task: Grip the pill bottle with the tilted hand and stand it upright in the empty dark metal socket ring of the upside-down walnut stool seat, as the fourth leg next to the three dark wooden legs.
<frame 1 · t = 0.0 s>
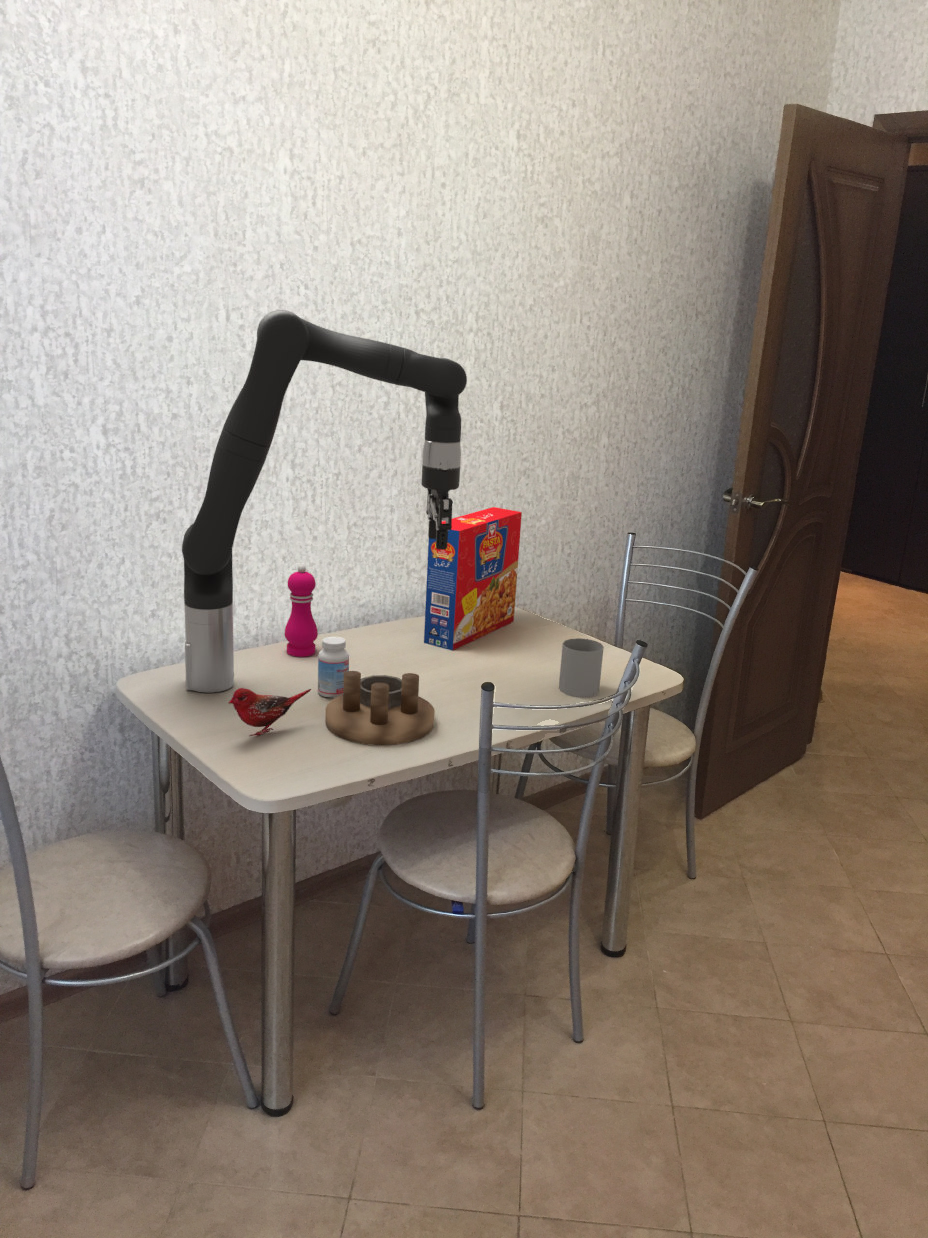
hand: (437, 543, 205), 29 cm above the table, tool pointing down, fingers open, 8 cm apart
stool: (380, 722, 192), on the table
pasta box: (470, 632, 245), on the table
pill bottle: (333, 693, 204), on the table
pepper mill: (301, 653, 225), on the table
decorative bird figurine: (271, 732, 185), on the table
cup: (578, 690, 213), on the table
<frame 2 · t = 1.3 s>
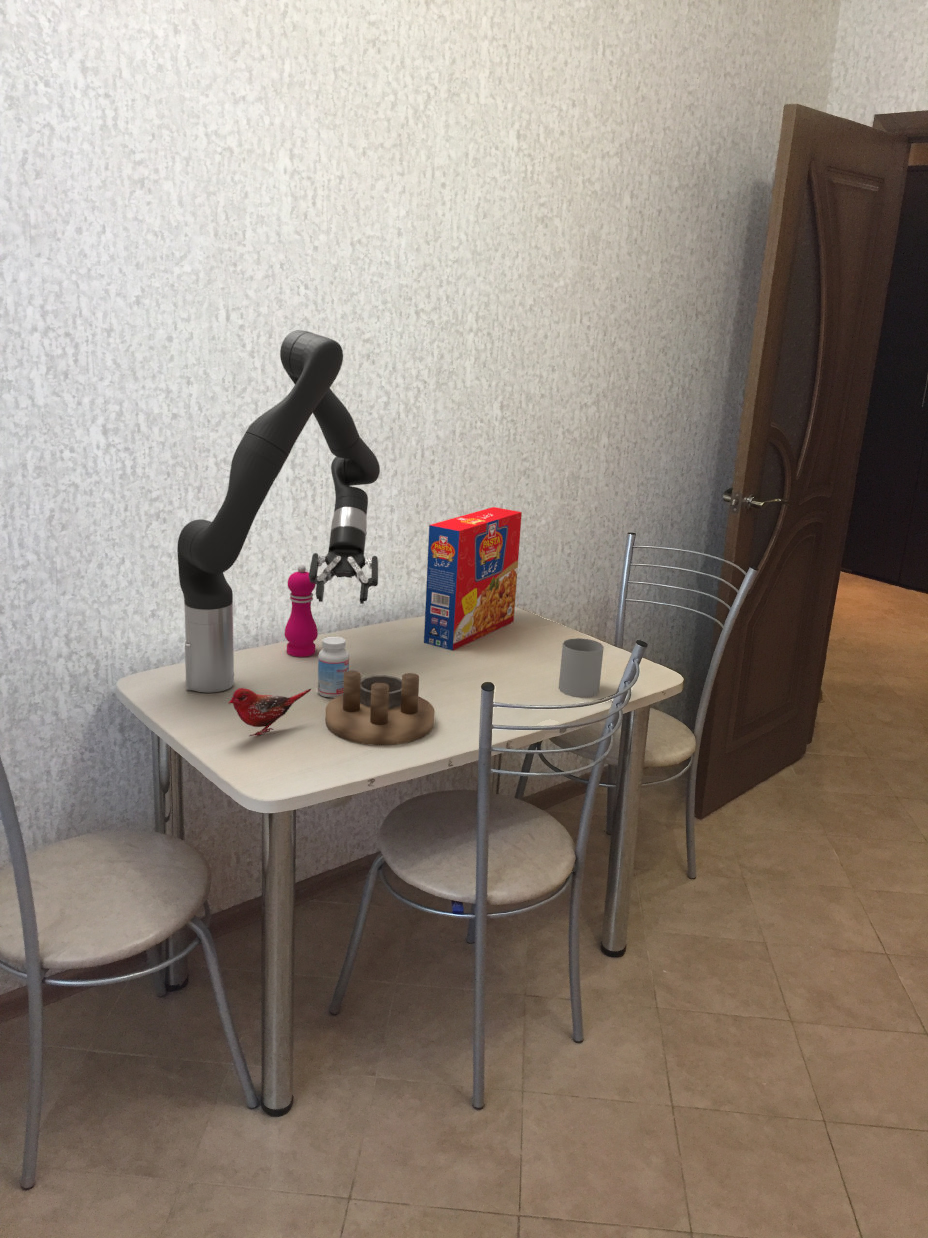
hand: (341, 601, 210), 16 cm above the table, tool tilted 45°, fingers open, 8 cm apart
nothing on the table moved.
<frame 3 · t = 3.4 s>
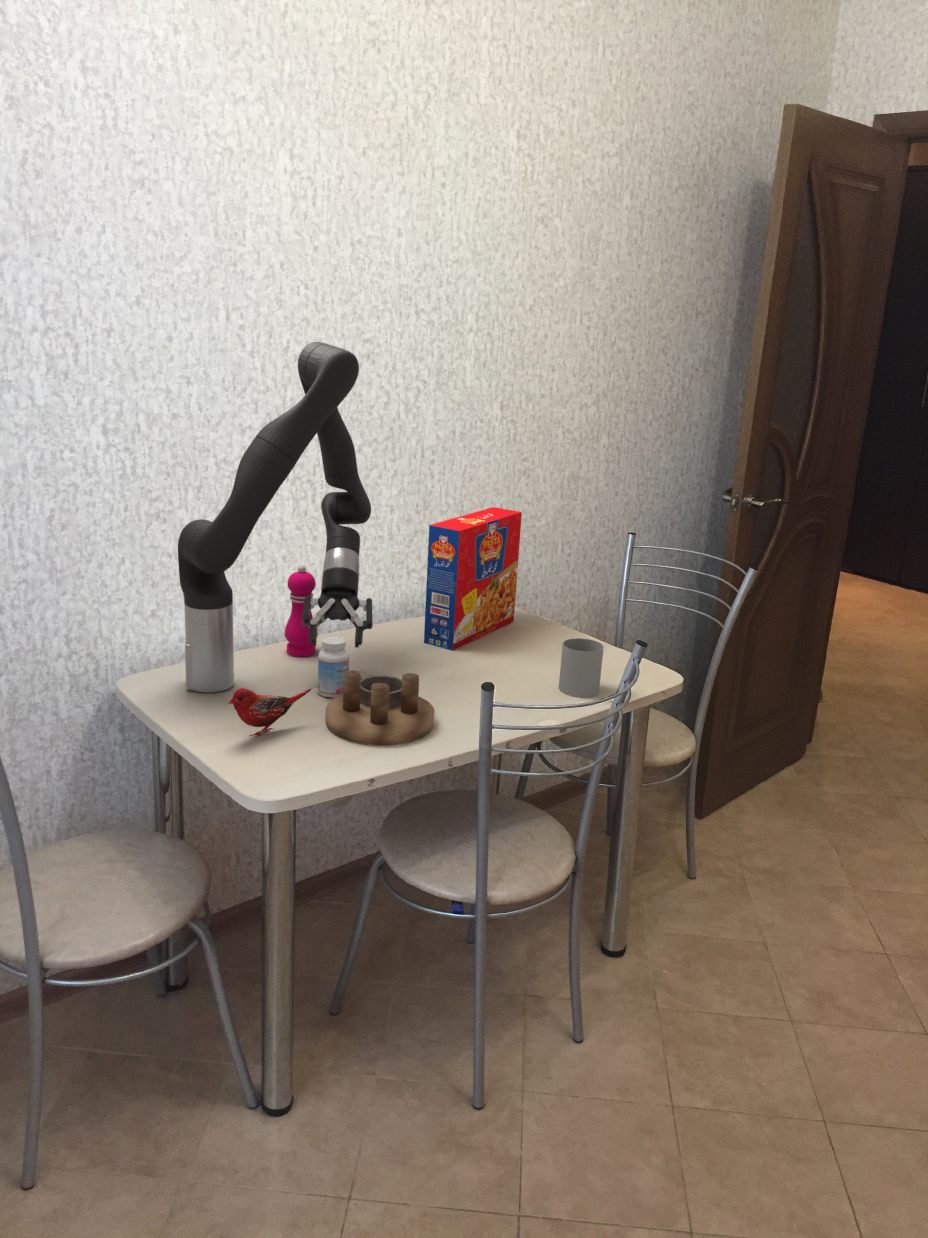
hand: (335, 645, 204), 9 cm above the table, tool tilted 45°, fingers open, 8 cm apart
nothing on the table moved.
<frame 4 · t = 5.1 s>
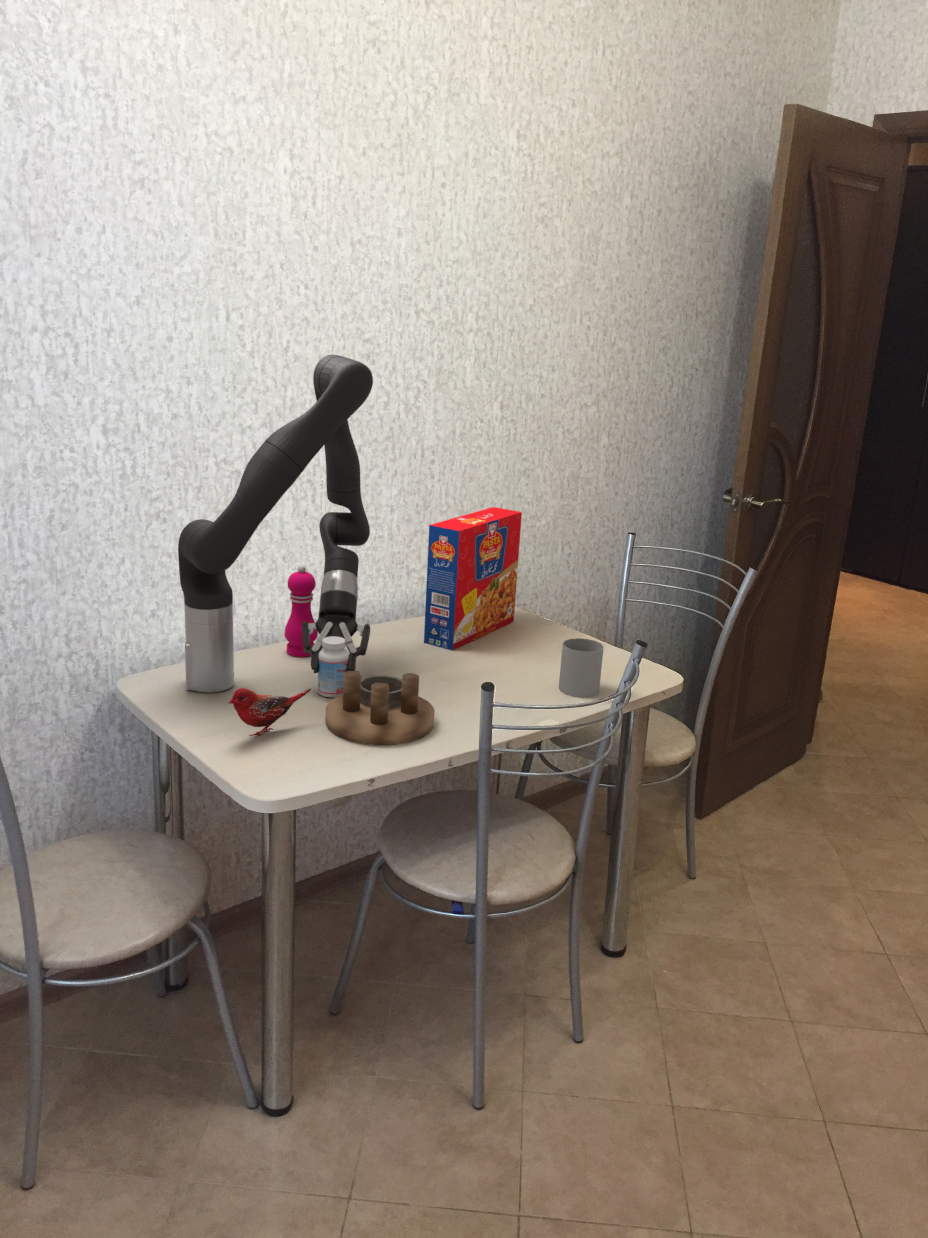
hand: (332, 672, 201), 5 cm above the table, tool tilted 45°, fingers closed on pill bottle, 6 cm apart
pill bottle: (333, 693, 204), on the table, touching gripper
everything else where it was.
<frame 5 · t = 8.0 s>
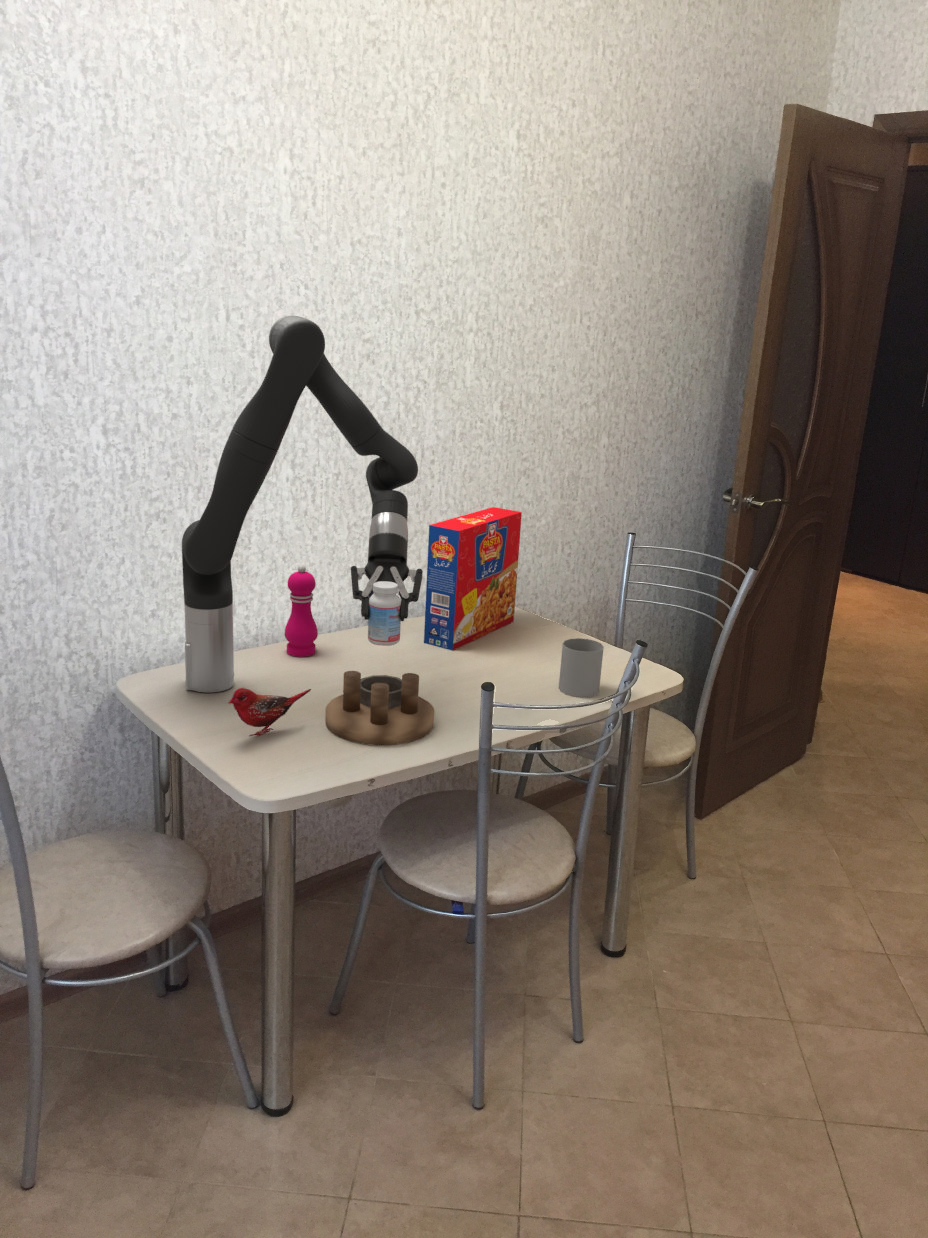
hand: (384, 618, 190), 19 cm above the table, tool tilted 45°, fingers closed on pill bottle, 6 cm apart
pill bottle: (383, 642, 193), point 14 cm above the table, touching gripper
everything else where it was.
when the fingers open (9 cm above the table, at t = 10.9 s): pill bottle drops 1 cm, resting on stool.
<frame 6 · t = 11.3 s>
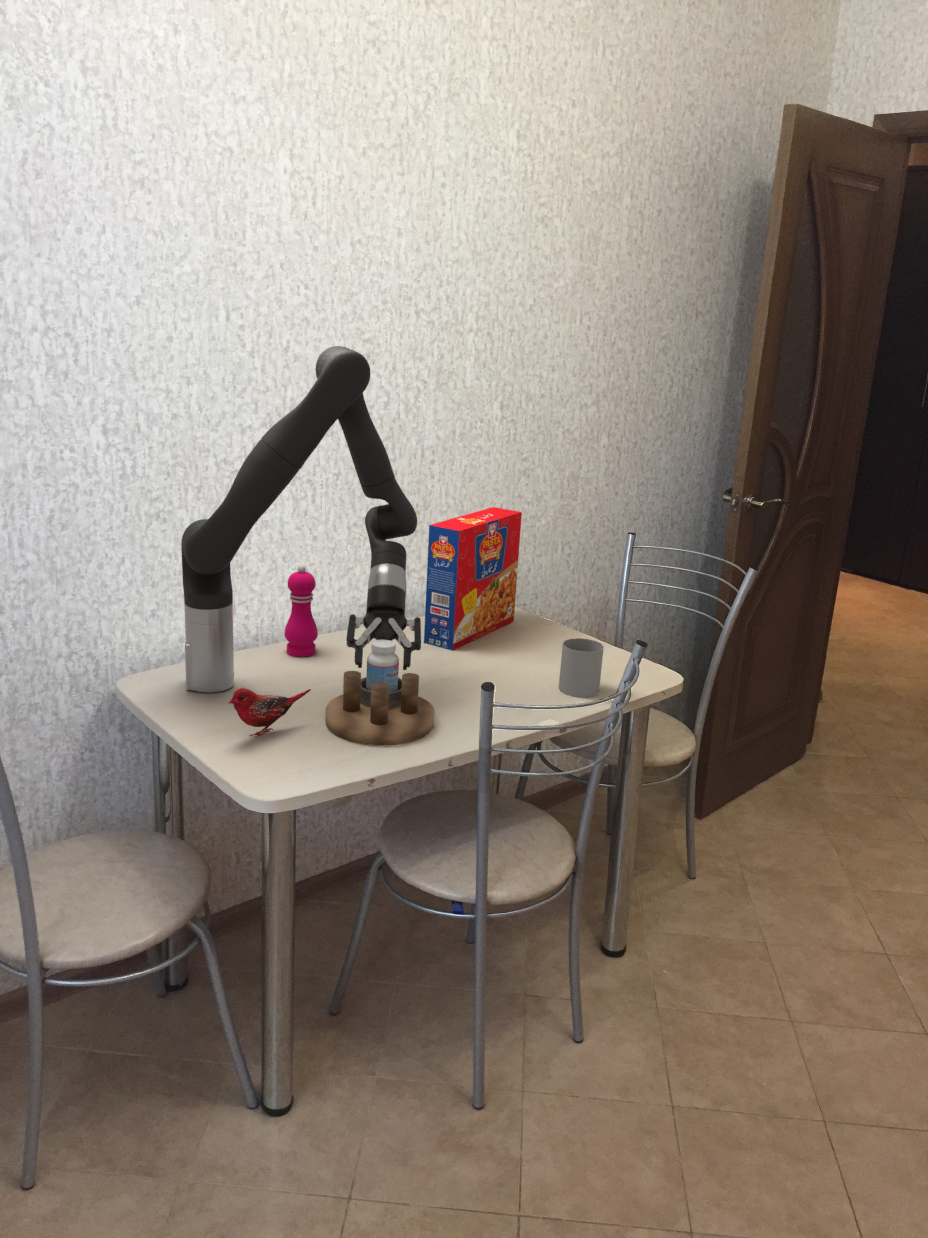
hand: (382, 667, 193), 9 cm above the table, tool tilted 45°, fingers open, 8 cm apart
pill bottle: (381, 699, 197), point 2 cm above the table, touching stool
everything else where it was.
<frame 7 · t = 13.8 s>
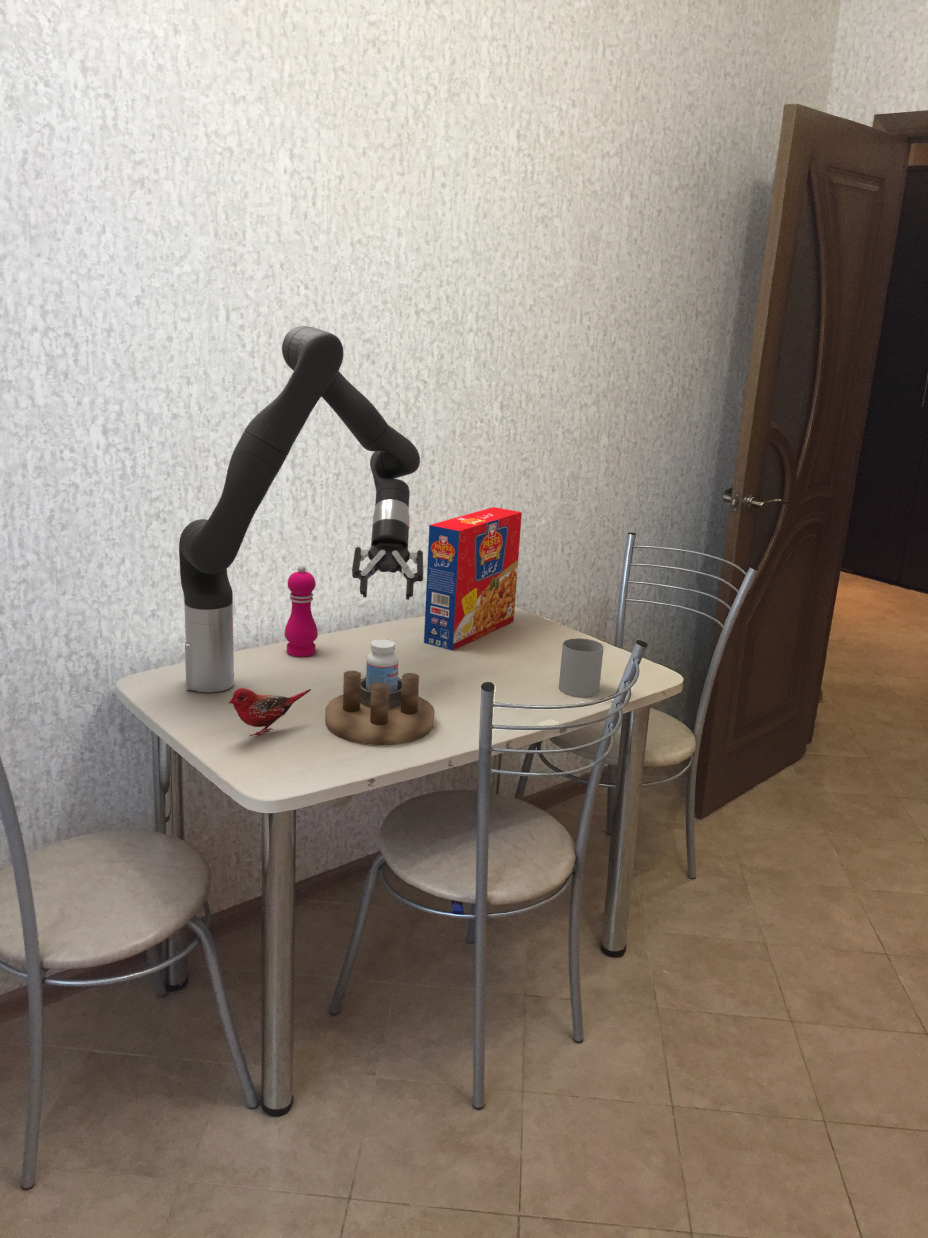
hand: (386, 596, 202), 19 cm above the table, tool tilted 45°, fingers open, 8 cm apart
nothing on the table moved.
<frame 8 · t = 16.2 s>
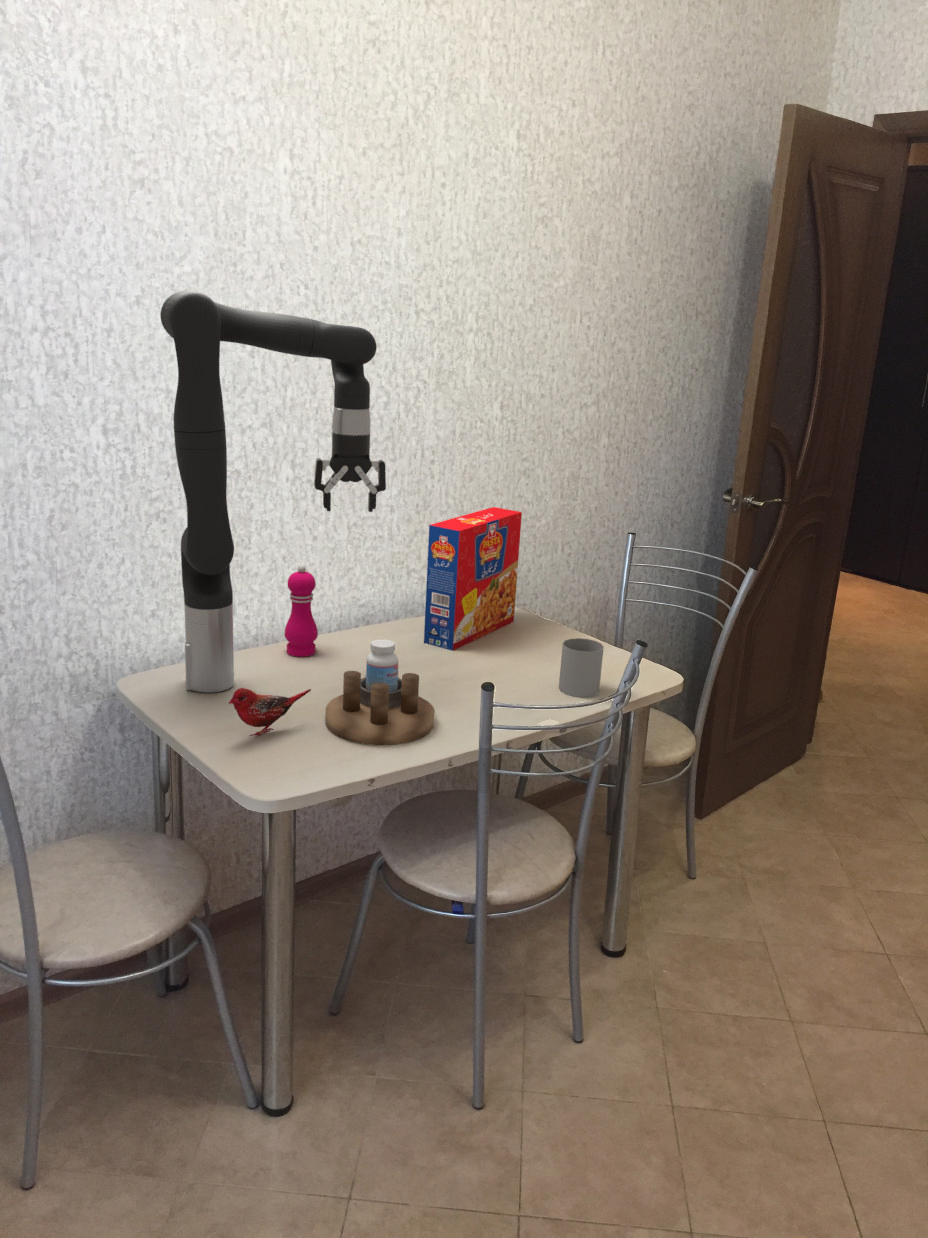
hand: (349, 510, 208), 34 cm above the table, tool pointing down, fingers open, 8 cm apart
nothing on the table moved.
at the end: pill bottle 0.3 cm from the target spot on the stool, point 2.3 cm above the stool's base; pill bottle tilted 0°; the gripper is holding nothing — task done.
